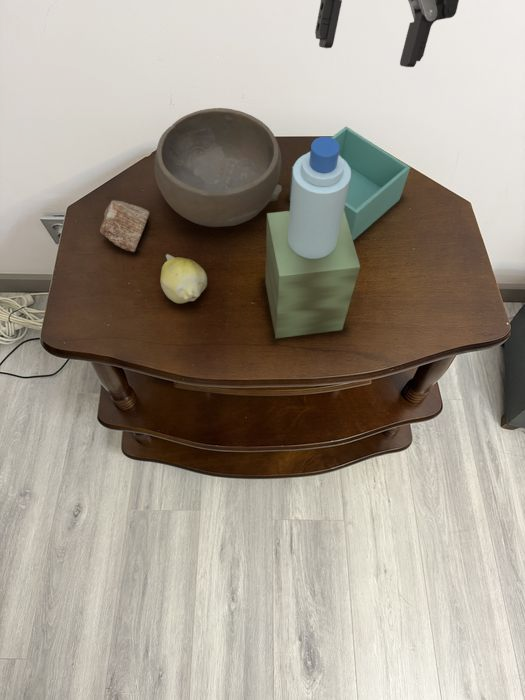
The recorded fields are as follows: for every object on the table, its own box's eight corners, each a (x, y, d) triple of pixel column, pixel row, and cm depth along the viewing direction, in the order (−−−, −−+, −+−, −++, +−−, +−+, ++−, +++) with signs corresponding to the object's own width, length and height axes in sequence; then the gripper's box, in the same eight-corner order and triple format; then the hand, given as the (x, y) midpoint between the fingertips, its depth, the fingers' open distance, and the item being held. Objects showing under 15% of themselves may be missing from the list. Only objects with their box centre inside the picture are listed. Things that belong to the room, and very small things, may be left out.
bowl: (302, 200, 81) (307, 148, 72) (214, 265, 75) (209, 217, 66) (226, 142, 86) (222, 87, 77) (139, 199, 81) (125, 146, 72)
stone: (121, 261, 78) (139, 252, 74) (87, 238, 74) (104, 228, 71) (138, 222, 81) (156, 212, 77) (105, 199, 77) (123, 187, 74)
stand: (328, 275, 74) (342, 204, 62) (342, 330, 70) (360, 266, 58) (265, 282, 74) (266, 213, 61) (275, 338, 69) (279, 276, 57)
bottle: (345, 232, 60) (366, 139, 48) (322, 266, 58) (338, 177, 46) (302, 212, 61) (313, 117, 50) (278, 245, 59) (283, 153, 47)
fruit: (187, 251, 76) (222, 293, 71) (154, 277, 76) (188, 321, 71) (168, 227, 71) (205, 271, 66) (133, 255, 71) (168, 301, 66)
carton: (399, 199, 81) (410, 167, 75) (349, 244, 77) (356, 213, 71) (340, 160, 85) (346, 126, 79) (289, 200, 81) (291, 167, 75)
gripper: (354, -216, 38) (307, 38, 45) (519, -155, 42) (452, 72, 49) (323, -174, 45) (286, 43, 52) (468, -125, 48) (415, 72, 55)
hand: (367, 57), depth 50 cm, fingers open, 8 cm apart
